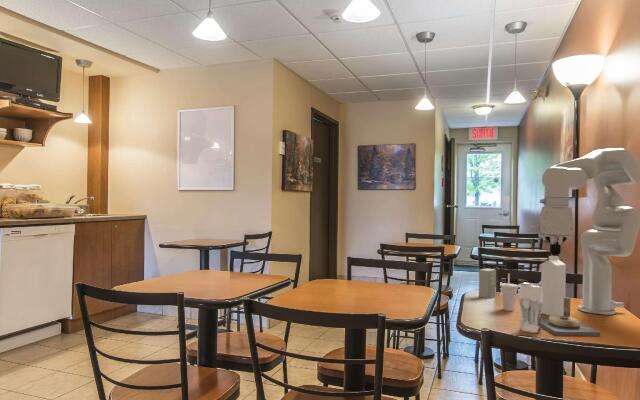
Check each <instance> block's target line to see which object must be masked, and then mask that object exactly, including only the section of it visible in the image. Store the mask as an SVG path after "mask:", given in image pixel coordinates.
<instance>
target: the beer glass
mask: <svg viewBox="0 0 640 400" xmlns="http://www.w3.org/2000/svg"><path fill="white" fill-rule="evenodd" d="M519 285H520V286H519V295H518V296H519V297H518V299H519V300H518V301H519V306H520V308H519V309H520V313H521V324H520V330H521V331H522V332H523V333H529V334H540V333H541V332H542V329H541V328H542V327H540V318H541V314H542V313H541V310H542V304H543V289H542V285H541V283H533V282H521V283H520V284H519Z"/></svg>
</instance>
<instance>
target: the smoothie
mask: <svg viewBox="0 0 640 400" xmlns="http://www.w3.org/2000/svg"><path fill="white" fill-rule="evenodd" d="M510 274H511V272H510V273H507V283H500V285H499V286H500V288H501V295H502V305H503V310H504V311H507V312H513V311H515V307H516V299H517V292H518V289H519V285H518V284H516V283H515V284H514V283H511V282H510V280H511V277H510Z"/></svg>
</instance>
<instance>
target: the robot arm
mask: <svg viewBox="0 0 640 400" xmlns="http://www.w3.org/2000/svg"><path fill="white" fill-rule="evenodd" d="M591 179H593V182H594V186H595V188H596V189H595V190H596V191H597V200H596V204H595V207H594V209H593V213H592V215H591V216H592V217H591V225H592V226H593V228H595V229H588V230H585V231H584V232H583V233H582V234H581V235H580V247H581V252H582V302H581V304H579V305H577V310H579V311H582V312H584V313H588V314H594V315H604V316H605V315H606V316H609V315H611V316H612V315H615V314H616V313H617V310H616V308H624V307H625V303H624V302H622V301H621V302H620V301H619V302H618V301H617V302H616V301H614V300H613V299H612V283H613V282H612V281H613V280H612V279H613V278H612V273H613V270H612V264H611V262H610V261H609V259H608V258H607V256H612V257H613V256H614V257H620V258H621V257H623V258H624V257H626V258H627V257H629V256H631V255H632V253H633V251H634V249H635V246H636V242H637V238H638V234H639V230H640V212H639V210H638V209H637V208H635V207H633V206H623V201H624V197H623V196H622V195H623V194H621V193H620V192H619V190H618V189H617V188H616V187H615V186H617V185H619V186H620V185H636V184H639V183H640V162H639V161H638V160H637V158H636V157H635V155H633V153H631V152H630V151H629V150H628V149H625V148H623V147H622V148H621V147H619V148H617V147H616V148H604V149H603V148H602V149H596V150H594V151H591V152H590V153H588V154H586V155H584V156H582V157H580V158H576V159H573V160H569V161H565V162H561V163H559V164H555V165H553V166H551V167H547V168H546V169H545V171H544V173H543V174H542V176H541V182H542V186H544V194H543V195H544V197H543V198H542V199H541V198H540V199H539V203H540V204H543V206H542V207H541V210H540V216H539V224H538V228H539V229H538V230H539V232H538V238H540V239H543V240H546V241H547V243H549V254H551V256H559V255H560V254H561V249H562V248H561V246H562V244H563V243H564V242H566V241H568V240H569V241H570V240H573V239H574V236H573V235H574V230H575V229H574V215H573V210H572V207H571V206H569V205H570V200H569V197H570V190H578V189H579V190H580V189H582V188H584V187H585V186H586V185H587V182H588V180H591ZM614 185H615V186H614ZM554 236H555V237H556V242H555V237H554ZM559 257H560V256H559Z"/></svg>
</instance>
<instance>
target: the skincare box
mask: <svg viewBox="0 0 640 400" xmlns="http://www.w3.org/2000/svg"><path fill="white" fill-rule="evenodd" d="M478 271H479V272H478V297H479V298H484V299H490V298H495V297H496V291H497V290H496V288H497V287H496V283H497V279H496V278H497V277H496V276H497V270H496V269H493V268H489V267H487V268H481V269H479V270H478Z"/></svg>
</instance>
